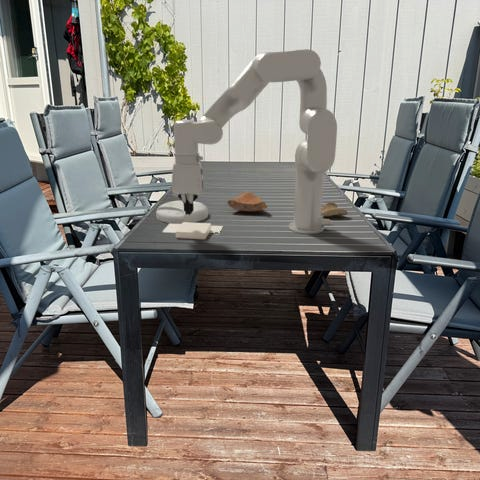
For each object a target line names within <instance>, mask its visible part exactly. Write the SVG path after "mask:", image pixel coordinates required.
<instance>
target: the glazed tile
mask: <svg viewBox="0 0 480 480" xmlns="http://www.w3.org/2000/svg"><path fill="white" fill-rule="evenodd" d="M211 225H212V223H209V222H208V223H207V222H194V223H190V222H183V223H182V224H181V225H180V227H179V228H178V229H177V231H176V233H175V238H176V239H190V240H191V239H192V240H193V239H195V240H206V239H207V237H208V236H209V235H210V234H209V233H210V231H211Z"/></svg>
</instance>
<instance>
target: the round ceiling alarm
mask: <svg viewBox="0 0 480 480" xmlns="http://www.w3.org/2000/svg"><path fill="white" fill-rule="evenodd" d="M193 207H194V210H193V212H192V213H191V214H190V215H189V214H187V215H186V214H185V211H184V203H183V202H182V200H181V199H180V200H173V201H168V202H165V203H163V204H160V205H159V206H158V207H157V209H156V211H155V214H156V216H155V217H156V219H157V220H158V221H160V222H163V223H167V224H169V223H170V224H182V223H183V222H190V223H199V222H200V221H201V222H202V221H204V220H206V219H207V218H208V216H209V209H208V207H207V206H206V205H205V204H204V203H202V202H199V201H196V200H195V201H194V202H193Z"/></svg>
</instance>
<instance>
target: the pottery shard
mask: <svg viewBox="0 0 480 480" xmlns="http://www.w3.org/2000/svg"><path fill="white" fill-rule="evenodd" d="M337 214H338V215H341V216H347V215H349V213H348V211H347V209H344V208H338V206H337V203H336V202H328V203H325V204H324V205H323V206H322V208H321V216H323V217H332V216H335V215H337Z"/></svg>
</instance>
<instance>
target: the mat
mask: <svg viewBox="0 0 480 480" xmlns="http://www.w3.org/2000/svg"><path fill="white" fill-rule="evenodd" d="M180 225H181V224H174V223H168V225H167V226H166V227H165V228H164V229H163V230H162V233H173V234H174V233H175V234H176V231H177V229H178V228H179V227H180ZM223 229H224V225H212V224H211V231H210V232H212V233H215V232H218V233H219V234H220V233H221V232H220V231H222V230H223Z"/></svg>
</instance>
